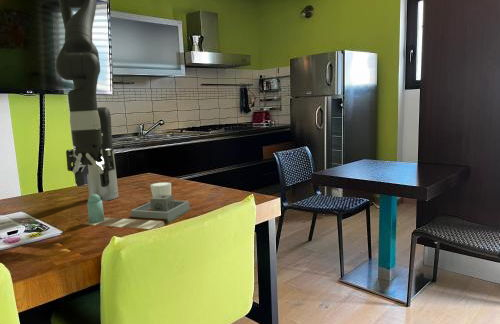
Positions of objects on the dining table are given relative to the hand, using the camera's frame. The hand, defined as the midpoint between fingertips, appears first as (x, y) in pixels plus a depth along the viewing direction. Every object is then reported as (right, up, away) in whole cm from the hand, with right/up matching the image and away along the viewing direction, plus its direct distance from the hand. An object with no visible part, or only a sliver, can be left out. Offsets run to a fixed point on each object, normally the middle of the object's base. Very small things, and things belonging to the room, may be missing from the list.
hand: (92, 186), depth 104 cm
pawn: (0, -10, +2) cm, 10 cm away
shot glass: (+15, -8, +21) cm, 27 cm away
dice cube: (+18, -9, +8) cm, 22 cm away
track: (+9, -11, -1) cm, 14 cm away
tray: (+17, -9, +8) cm, 21 cm away
